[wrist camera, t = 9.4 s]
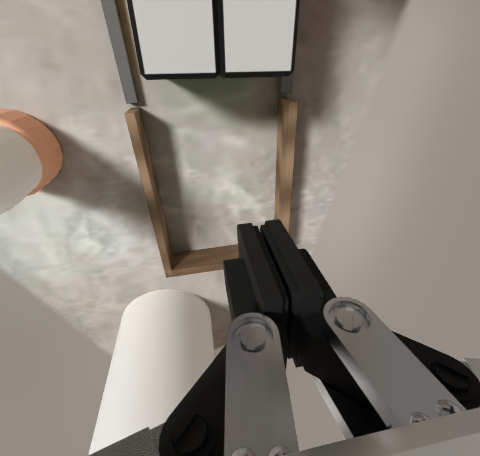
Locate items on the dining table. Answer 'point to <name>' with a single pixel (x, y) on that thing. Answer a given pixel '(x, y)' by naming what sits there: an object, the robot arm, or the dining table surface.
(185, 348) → the canister
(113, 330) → the dining table surface
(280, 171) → the wooden frame
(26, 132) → the pepper shaker
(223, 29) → the puzzle cube
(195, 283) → the dining table surface
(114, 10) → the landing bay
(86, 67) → the dining table surface
